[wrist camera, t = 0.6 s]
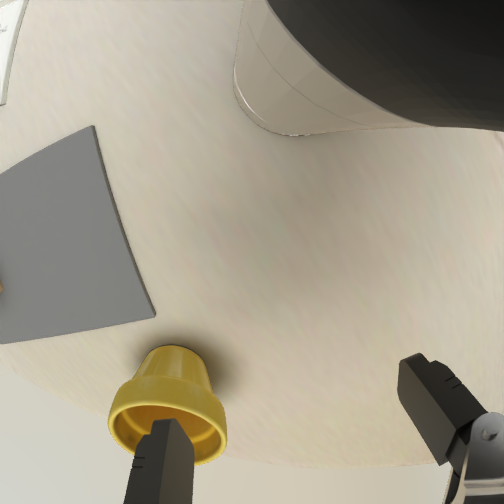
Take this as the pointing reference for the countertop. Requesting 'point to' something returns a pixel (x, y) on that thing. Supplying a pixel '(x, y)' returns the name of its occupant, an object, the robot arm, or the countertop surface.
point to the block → (1, 287)
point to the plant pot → (170, 403)
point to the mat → (64, 246)
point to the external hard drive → (9, 40)
